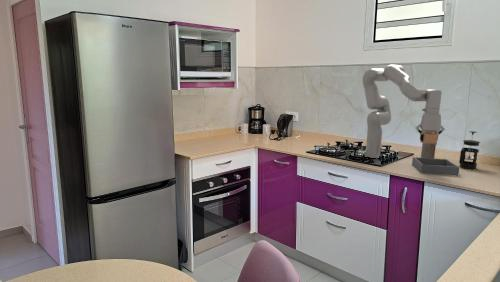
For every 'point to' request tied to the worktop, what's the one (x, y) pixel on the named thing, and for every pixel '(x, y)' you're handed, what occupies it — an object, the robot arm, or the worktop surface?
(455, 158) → the worktop surface
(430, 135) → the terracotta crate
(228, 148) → the worktop surface
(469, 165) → the french press
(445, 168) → the charcoal crate
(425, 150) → the thermos bottle
